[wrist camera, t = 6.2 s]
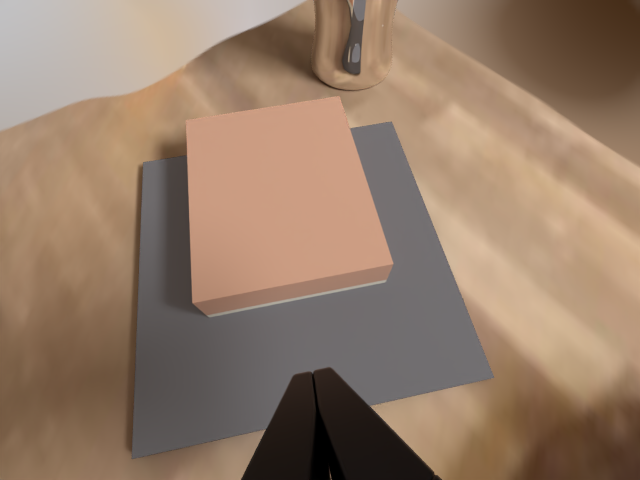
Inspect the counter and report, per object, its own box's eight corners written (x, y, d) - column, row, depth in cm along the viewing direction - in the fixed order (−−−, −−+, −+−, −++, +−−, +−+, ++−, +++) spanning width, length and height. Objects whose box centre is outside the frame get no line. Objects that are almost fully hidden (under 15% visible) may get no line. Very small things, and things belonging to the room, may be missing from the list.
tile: (393, 263, 16) (339, 96, 21) (192, 303, 15) (186, 120, 20) (385, 282, 18) (338, 126, 23) (209, 317, 17) (199, 148, 22)
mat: (488, 378, 16) (494, 377, 16) (138, 457, 15) (131, 458, 15) (390, 128, 23) (391, 121, 23) (147, 168, 22) (143, 162, 22)
